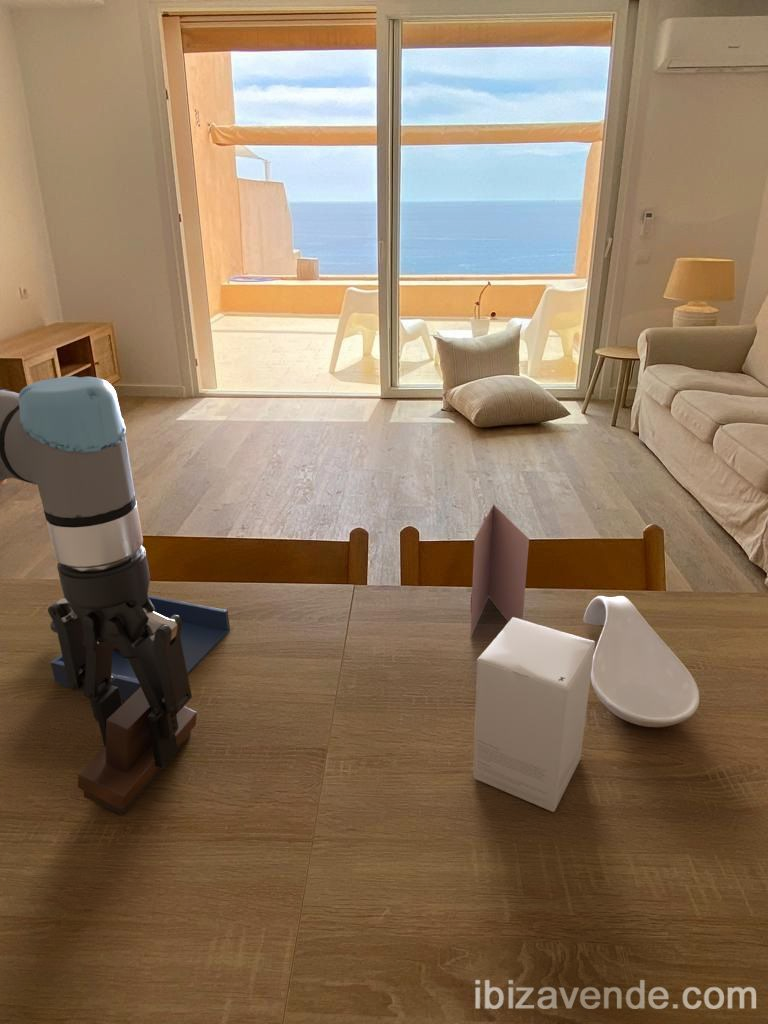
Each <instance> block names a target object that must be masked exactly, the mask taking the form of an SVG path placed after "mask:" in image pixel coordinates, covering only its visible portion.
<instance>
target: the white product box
mask: <svg viewBox="0 0 768 1024" xmlns="http://www.w3.org/2000/svg"><path fill="white" fill-rule="evenodd" d="M595 646H596V640H592V639H588V638H585V637H581V636H578V635H575V634H571V633H568V632H564V631H561V630H557V629H555V628H551V627H547V626H544V625H540V624H537V623H534V622H531V621H527V620H524V619H523V620H521V619H518V618H515V617H512V619H511V620H510V621H509V622H508V621H507V623H506V624H505V626H503V628H502V629H501V631H500V632H499V633H498V634H497V636H495V638H494V639H493V640H492V641H491V642H490V644H489V645H488V646H487V647H486V648H485V650H484V651H483V652H482V653H481V654H480V655H479V657H478V658H477V659H476V686H475V689H476V690H475V711H474V713H475V714H474V738H473V764H472V778H473V779H474V780H477V781H479V782H482V783H484V784H486V785H488V786H490V787H493V788H495V789H498V790H499V791H503V792H505V793H507V794H509V795H512V796H514V797H517V798H519V799H520V800H521V799H522V800H523V801H526V802H528V803H530V804H533V805H534V806H535V805H536V806H538V807H540V808H543V809H545V810H547V811H549V812H552V813H554V812H555V811H556V810H557V807H558V805H559V803H560V802H561V800H562V797H563V796H564V794H565V791H566V790H567V788H568V785H569V783H570V781H571V779H572V777H573V775H574V773H575V771H576V769H577V767H578V765H579V763H580V760H581V758H582V751H583V743H584V735H585V727H586V719H587V712H588V711H587V709H588V703H589V702H588V701H589V693H590V685H591V670H592V663H593V656H594V652H595V648H596V647H595Z"/></svg>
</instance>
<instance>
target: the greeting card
mask: <svg viewBox="0 0 768 1024" xmlns="http://www.w3.org/2000/svg"><path fill="white" fill-rule="evenodd" d="M529 545H530V538H529V537H528V536H527V535H526V534H525V533H524V532H523V531H522V530H520V529H519V528H518V526H517V525H515V524H514V522H512V520H511V519H509V517H507V515H506V514H504V512H502V511H501V510H500V508H498V506H496V505H495V504H494V503H493V504H492V505H491V508H490V509H489V511H488V513H487V515H486V516H485V515H484V517H483V520H482V523H481V526H480V527H479V529H478V531H477V533H476V535H475V537H474V540H473V560H472V561H473V562H472V565H473V566H472V583H471V585H472V586H471V596H470V630H469V631H470V632H469V633H470V634H469V638H471V637H472V635H473V633H474V630H475V628H476V626H477V624H478V622H479V619H480V616H481V614H482V612H483V610H484V608H485V605H486V603H487V601H488V598H489V599H490V600H491V601H492V602H493V604H494V605H495V607H496V608H497V609H498V611H499V612H500V613H501V614H502V616H503V617H504V618H505V619H506V621H507V623H508V622H509V621H510V620H511V619H512V617H515V618H518V619H521V620H524V607H525V596H526V583H527V570H528V569H527V568H528V559H529V558H528V556H529Z"/></svg>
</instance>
